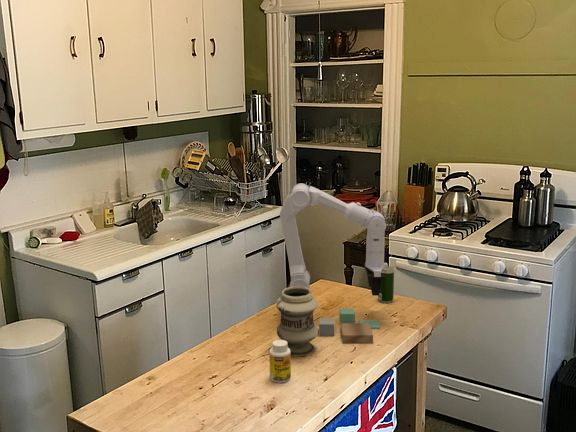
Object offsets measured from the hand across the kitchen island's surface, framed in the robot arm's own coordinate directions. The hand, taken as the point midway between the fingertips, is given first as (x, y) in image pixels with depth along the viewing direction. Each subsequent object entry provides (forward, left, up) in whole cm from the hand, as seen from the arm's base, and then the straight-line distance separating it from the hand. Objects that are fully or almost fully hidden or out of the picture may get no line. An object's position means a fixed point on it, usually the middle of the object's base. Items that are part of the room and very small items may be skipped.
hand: (374, 290), depth 200 cm
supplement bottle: (-29, -40, -10) cm, 50 cm away
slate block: (-16, -11, -10) cm, 22 cm away
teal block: (-9, -3, -10) cm, 13 cm away
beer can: (+6, +16, -10) cm, 20 cm away
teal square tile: (-2, -5, -10) cm, 11 cm away
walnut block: (-7, -14, -10) cm, 18 cm away
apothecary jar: (-25, -22, -10) cm, 34 cm away
